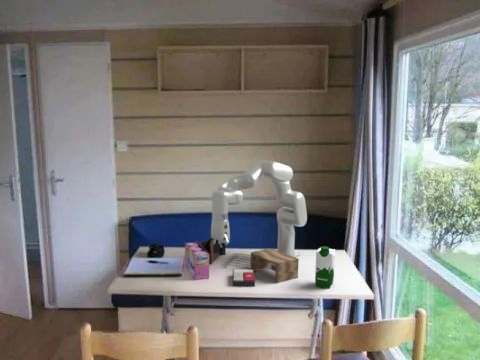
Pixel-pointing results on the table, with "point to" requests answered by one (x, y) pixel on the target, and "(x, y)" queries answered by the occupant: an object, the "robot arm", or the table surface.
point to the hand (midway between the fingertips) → (219, 253)
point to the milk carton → (324, 267)
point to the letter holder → (210, 250)
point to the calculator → (243, 277)
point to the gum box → (197, 261)
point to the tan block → (275, 263)
